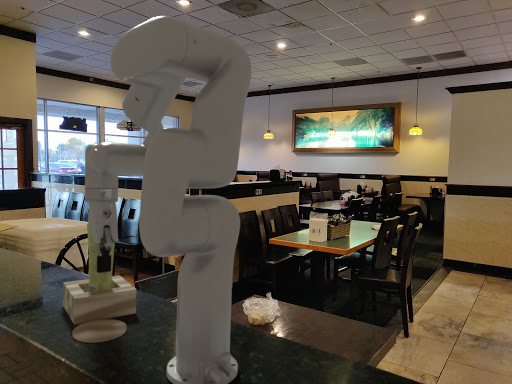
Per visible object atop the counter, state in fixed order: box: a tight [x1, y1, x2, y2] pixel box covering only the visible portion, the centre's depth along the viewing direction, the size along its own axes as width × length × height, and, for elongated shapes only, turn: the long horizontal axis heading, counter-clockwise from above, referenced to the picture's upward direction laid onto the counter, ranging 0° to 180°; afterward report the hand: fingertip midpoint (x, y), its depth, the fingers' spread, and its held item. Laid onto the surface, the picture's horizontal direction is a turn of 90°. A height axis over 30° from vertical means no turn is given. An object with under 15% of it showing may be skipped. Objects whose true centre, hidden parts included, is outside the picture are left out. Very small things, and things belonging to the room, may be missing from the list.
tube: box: [86, 222, 115, 292], centre depth 96 cm, size 6×5×20 cm
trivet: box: [71, 318, 128, 344], centre depth 84 cm, size 11×11×1 cm
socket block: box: [62, 275, 137, 326], centre depth 97 cm, size 14×14×6 cm
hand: (100, 268), depth 96 cm, fingers closed on tube, 4 cm apart
